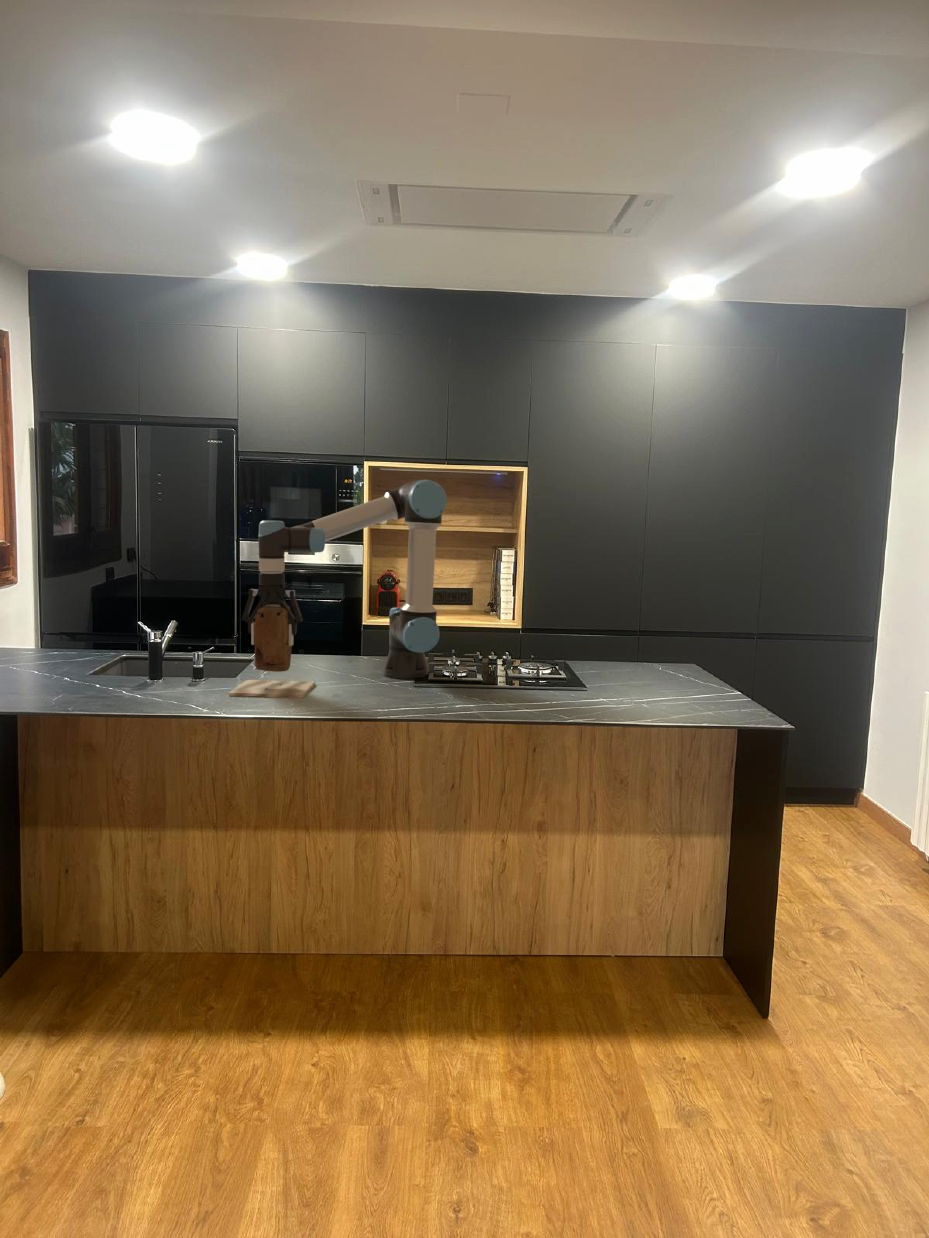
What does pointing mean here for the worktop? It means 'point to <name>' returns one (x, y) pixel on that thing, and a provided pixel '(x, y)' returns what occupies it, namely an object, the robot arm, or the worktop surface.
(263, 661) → the block
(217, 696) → the worktop surface
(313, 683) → the wooden cutting board
